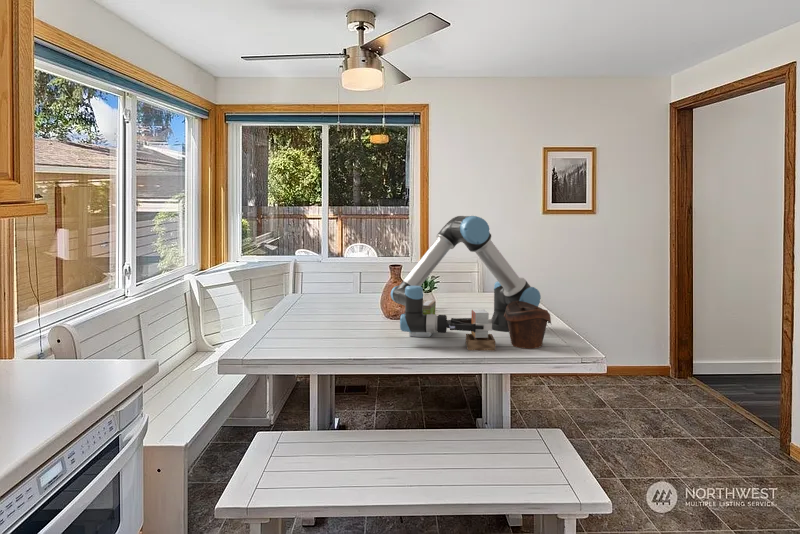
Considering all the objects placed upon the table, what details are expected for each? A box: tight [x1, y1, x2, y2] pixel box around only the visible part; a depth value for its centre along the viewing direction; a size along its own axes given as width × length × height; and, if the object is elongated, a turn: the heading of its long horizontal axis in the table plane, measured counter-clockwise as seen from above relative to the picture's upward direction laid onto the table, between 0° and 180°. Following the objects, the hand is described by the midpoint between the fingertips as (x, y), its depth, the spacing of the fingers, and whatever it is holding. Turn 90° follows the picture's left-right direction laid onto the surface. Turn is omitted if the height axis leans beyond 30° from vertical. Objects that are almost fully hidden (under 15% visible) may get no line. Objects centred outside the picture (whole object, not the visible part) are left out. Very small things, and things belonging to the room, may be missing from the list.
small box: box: [470, 309, 489, 338], centre depth 245 cm, size 8×6×10 cm
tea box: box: [408, 299, 437, 338], centre depth 271 cm, size 15×10×15 cm
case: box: [504, 301, 552, 350], centre depth 247 cm, size 18×20×18 cm
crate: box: [465, 333, 496, 352], centre depth 245 cm, size 11×13×5 cm
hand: (491, 324), depth 244 cm, fingers closed on small box, 9 cm apart
